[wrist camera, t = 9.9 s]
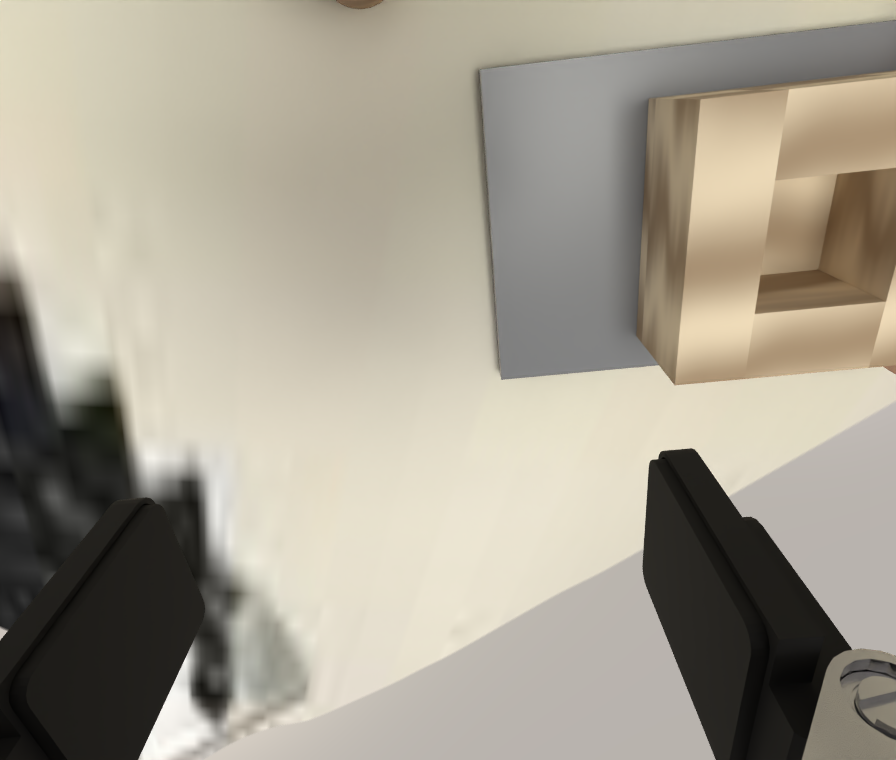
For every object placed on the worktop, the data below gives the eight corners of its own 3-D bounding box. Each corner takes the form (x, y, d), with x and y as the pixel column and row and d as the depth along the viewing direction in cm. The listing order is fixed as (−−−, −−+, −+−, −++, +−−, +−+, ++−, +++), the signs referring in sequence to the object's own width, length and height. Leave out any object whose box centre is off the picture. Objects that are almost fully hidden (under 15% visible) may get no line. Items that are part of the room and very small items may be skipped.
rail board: (479, 70, 27) (492, 59, 18) (958, 13, 26) (1198, -25, 17) (499, 370, 34) (516, 458, 26) (874, 335, 33) (1015, 416, 25)
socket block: (648, 98, 26) (700, 99, 21) (915, 68, 26) (1038, 60, 20) (636, 335, 32) (674, 385, 26) (855, 315, 31) (940, 361, 26)
